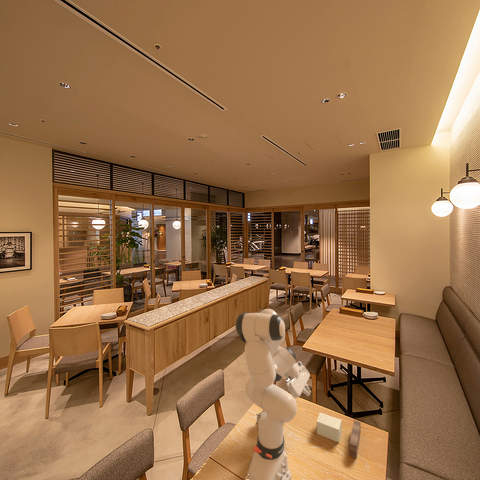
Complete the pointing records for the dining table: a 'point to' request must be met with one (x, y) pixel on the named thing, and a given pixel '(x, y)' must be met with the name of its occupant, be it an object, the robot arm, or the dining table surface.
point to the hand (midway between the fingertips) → (309, 394)
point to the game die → (259, 415)
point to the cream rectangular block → (329, 427)
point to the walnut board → (355, 438)
